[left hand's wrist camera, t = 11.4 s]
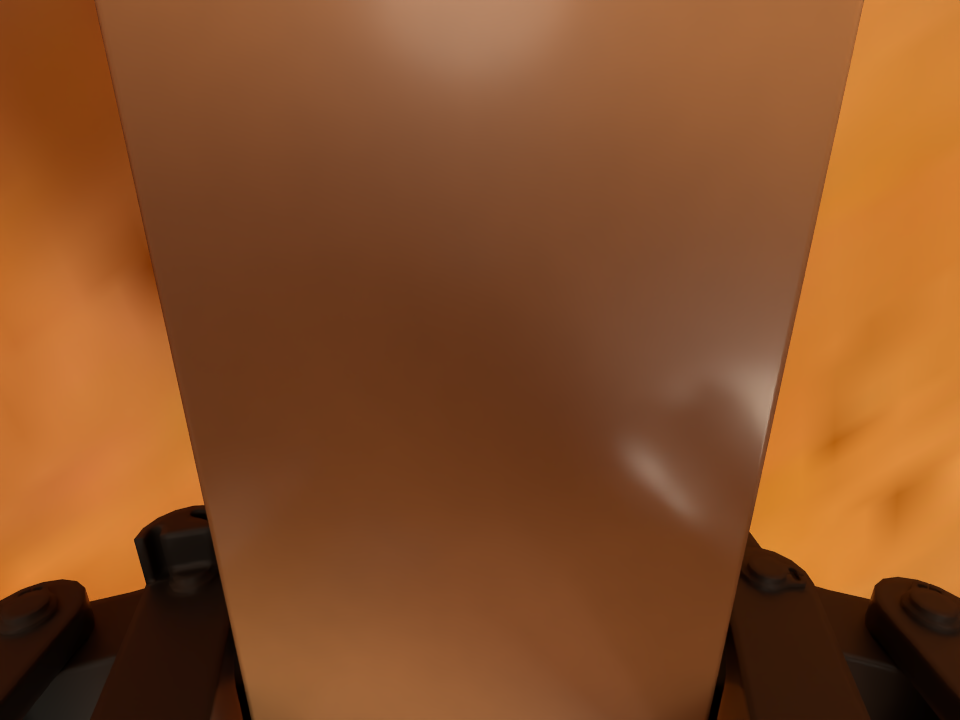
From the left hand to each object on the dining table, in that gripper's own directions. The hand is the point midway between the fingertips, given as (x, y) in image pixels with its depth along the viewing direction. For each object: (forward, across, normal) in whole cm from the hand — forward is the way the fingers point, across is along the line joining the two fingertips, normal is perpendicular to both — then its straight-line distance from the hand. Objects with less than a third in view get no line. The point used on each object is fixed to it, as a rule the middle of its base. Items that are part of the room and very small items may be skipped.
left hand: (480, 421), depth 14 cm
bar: (+1, 0, -10) cm, 10 cm away
